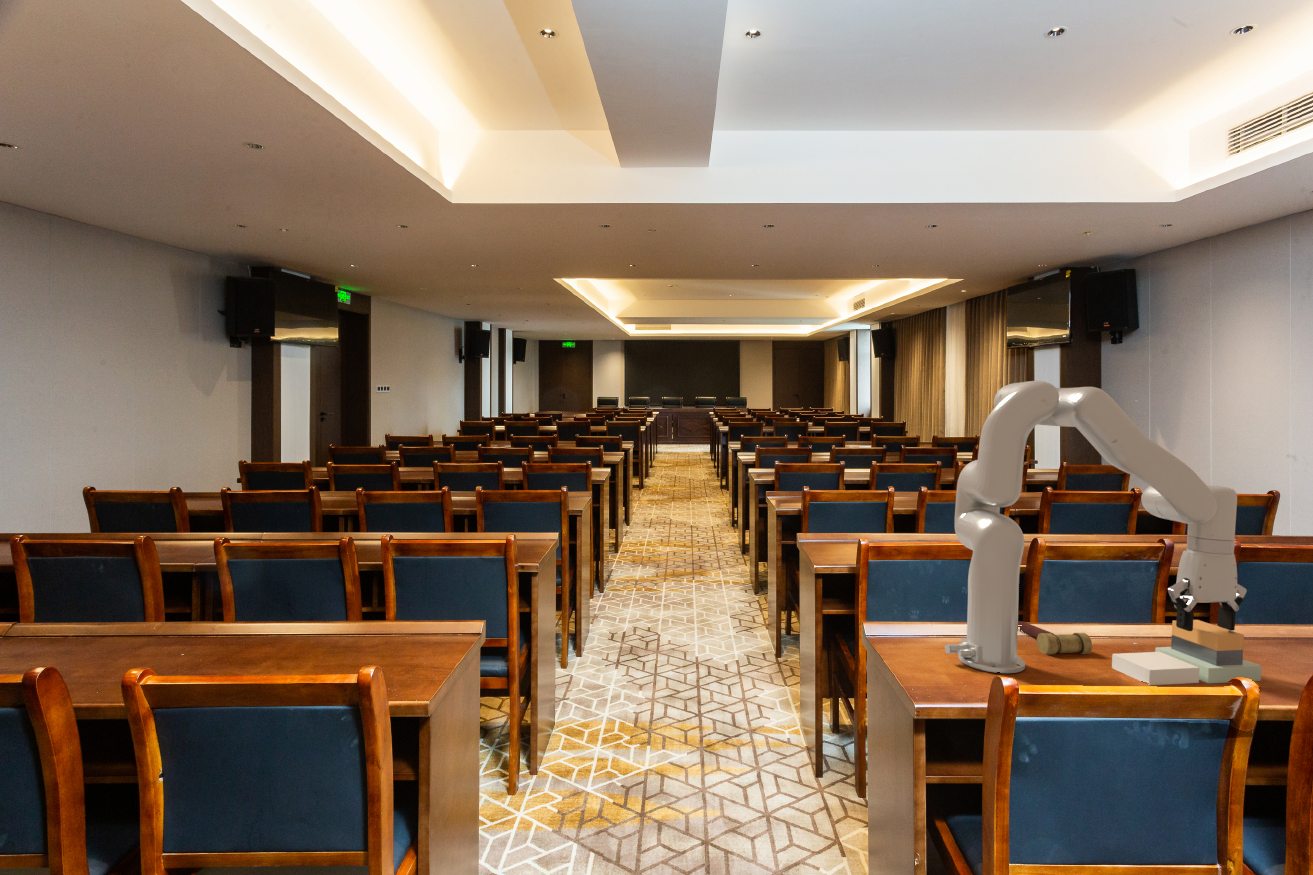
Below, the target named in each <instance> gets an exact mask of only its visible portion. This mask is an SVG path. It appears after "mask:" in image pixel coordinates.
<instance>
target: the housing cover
mask: <svg viewBox="0 0 1313 875" xmlns="http://www.w3.org/2000/svg"><path fill="white" fill-rule="evenodd" d="M1171 626H1172V627H1171V636H1172V635H1174V636H1177V637H1180V638H1183V639H1186V640H1188V641H1191V642H1194V643H1197V644H1199V645H1202V646H1205V647H1208V648H1210V649H1213V650H1216V651H1226V650H1243V651H1244V647H1245V646H1244V642H1245V641H1244V640H1245V635H1244V634H1243V633H1240V632H1236V631H1235V630H1232V631H1231V630H1228V629H1225V628H1222V627H1219V626H1218V625H1214V624H1212V623H1208V622H1205V621H1203V620H1200V619H1193V630H1192V631H1187V630H1184V629H1181V628H1178V627H1177V626H1176V620H1172V624H1171Z"/></svg>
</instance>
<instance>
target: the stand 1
mask: <svg viewBox="0 0 1313 875" xmlns="http://www.w3.org/2000/svg"><path fill="white" fill-rule="evenodd" d="M1111 658H1112V659H1111V669H1112V670H1115V671H1118V672H1120V673H1122V674H1124V675H1126V676H1127V677H1130V678H1133V679H1135V680H1136V681H1138V682H1141V681H1143V682H1147V683H1149V684H1148V686H1161V685H1181V684H1184V685H1185V684H1199V683H1200V680H1199V667H1196V666H1194V665H1191V664H1189V663H1186V662H1184V661H1181V660H1179V659H1176V658H1174V657H1171V656H1169V655H1166V654H1164V653H1161V652H1155V651H1147V652H1144V651H1143V652H1125V653H1112V656H1111ZM1143 682H1142V683H1143ZM1156 683H1158V684H1156Z"/></svg>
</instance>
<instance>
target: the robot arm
mask: <svg viewBox="0 0 1313 875" xmlns="http://www.w3.org/2000/svg"><path fill="white" fill-rule="evenodd" d="M993 407H994V408H993V409H992V411H990V413H989V414H988V416H987V418H986V420H985V421H984V424H983V426H982V429H981V433H980V439H979V446H978V452H977V459H975V460H973V461H970V462H969V463H967V464H965V466H964V467H963V468H962V470H961V471H960V474H959V476H958V479H957V483H956V493H955V497H956V498H955V508H954V532H955V535H956V539H957V540H958V541H959V542H960V543H961V544H962V545H963V546H964V547H966V548H967V549H969V550H971V551H972V555H971V559H970V564H969V568H968V578H967V614H966V615H967V617H966V618H967V619H966V620H967V622H966V625H967V626H966V637H962V638H961V642H959V643H957V644H955V643H947V644H945V645H944V651H945V653H946V654H948V655H949V654H950V655H951V654H957V655H958V656H957V657H958V660H959V661H960V662H961V663H962V664H964V665H966V666H968V667H971V668H973V669H976V670H980V671H984V672H990V673H996V674H998V673H997V672H1000V673H999V674H1016V673H1019V672H1022V671H1024V670H1025V669H1026V661H1025V660H1024V659H1023V658H1021V657H1020V656H1019V655H1018V631H1019V630H1018V622H1019V594H1020V593H1019V592H1020V591H1019V590H1020V589H1019V588H1020V587H1019V586H1020V585H1019V584H1020V571H1021V570H1020V569H1021V564H1022V560H1023V558H1022V557H1023V556H1024V555H1023V554H1024V549H1025V537H1024V533H1023V531H1022V529H1021V527H1020V526H1019V524H1018V523H1017V522H1016V521H1015V520H1013V519H1012V518H1011V517H1009V516H1008V515H1005V514H1002V513H1000V512H1001V511H1000V510H1001V509H1000V508H1006V507H1010V506H1013V505H1014V504H1015V503H1016V502H1017V501H1018V500H1019V498H1020V496H1021V493H1022V490H1023V489H1022V486H1023V475H1024V474H1023V472H1024V460H1025V458H1024V457H1025V451H1026V450H1025V449H1026V444H1027V441H1028V438H1029V435H1030V434H1031V433H1032V430H1033V429H1034V428H1035V427H1036V426H1037V425H1040V426H1051V427H1066V428H1067V427H1070V428H1076V429H1077V430H1078V431H1079V432H1080V433H1081V435H1083V437H1084V438H1085V439H1086V440H1087V441H1088V442H1089V443H1090V444H1091V446H1093V448H1094V449H1095V450H1096V451H1097V452H1098V453H1099V455H1100V456H1101V457H1102V458H1103V459H1104V461H1105V462H1106V463H1108V464H1109V465H1111V466H1113V467H1115V468H1116V469H1117V470H1120V471H1122V472H1124V473H1126V474H1129V475H1131V476H1133V477H1136V478H1137V479H1139V480H1141V481H1143V482H1144V483H1146V484H1147V485H1149V486H1148V487H1147V488H1145V490H1144V491H1143V492H1142V494H1141V498H1140V499H1141V500H1140V501H1141V505H1142V507H1143V508H1144V510H1145V511H1146V512H1147V513H1149V514H1150V515H1152V516H1155V517H1157V518H1160V519H1164V520H1169V521H1173V522H1177V523H1178V522H1179V523H1183V524H1187V533H1186V534H1187V537H1186V538H1187V539H1186V550H1183V552H1182V554H1181V557H1180V559H1179V563H1178V564H1179V565H1178V569H1177V575H1176V582H1175V583H1174V584H1173V585H1171V586H1169V587H1168V588H1167V592H1168V595H1169V597H1170V601H1171V603H1172V604H1173V606H1174V608H1175V609H1176V620H1175V621H1176V626H1177V627H1178V628H1181V629H1184V630H1187V631H1192V630H1193V620H1195V619H1194V615H1195V612H1194V611H1192V610H1193V608H1194V607H1196V604H1198V603H1212V604H1213V603H1219V607H1218V608H1217V621H1216V622H1217V625H1216V626H1218V627H1221V628H1224V629H1227V630H1231V631H1235V628H1236V615H1237V614H1236V612H1238V611H1239V609H1240V607H1239V606H1240V605H1241V604H1242V603H1243V602H1244V597H1245V595H1246V594H1247V591H1248V590H1247V588H1245V587H1244V586H1243V585H1240V584H1239V583H1238V569H1237V568H1238V567H1237V560H1236V555H1235V547H1236V542H1235V540H1236V539H1235V536H1236V522H1237V521H1236V520H1237V509H1238V508H1237V506H1238V493H1237V491H1235V489H1233V488H1231V487H1227V486H1219V485H1218V486H1217V485H1207V484H1206V483H1205V482H1204V481H1203V480H1202V478H1201V477H1200V476H1199V475H1198V474H1197V473H1196V472H1195V471H1194V470H1193V469H1192V468H1191V467H1190V466H1189V465H1187V464H1186V463H1185V462H1183V461H1182V460H1181V459H1179V458H1178V457H1176V456H1175V455H1173V454H1172V453H1170V452H1169V450H1166V449H1165V448H1164V447H1162V446H1161V445H1159V444H1158V443H1156V442H1154V441H1153V440H1152V439H1150V438H1149V437H1148V436H1147V435H1146V434H1144V433H1143V431H1142V430H1141V429H1140V428H1139V427H1138V426H1137V425H1136V423H1135V422H1134V421H1133V420H1132V419H1131V418H1130V417H1129V416H1128V414H1126V412H1125V411H1124V410H1123V409H1122V408H1121V407H1120V406H1119V404H1117V402H1116V401H1115V400H1114V399H1113V398H1112V397H1111V396H1110V395H1109V394H1108V393H1107V392H1106V391H1104V390H1103V389H1102V388H1098V387H1095V386H1080V387H1057V386H1055V385H1053V384H1052V383H1050V382H1047V381H1043V380H1031V381H1030V380H1029V381H1020V382H1013V383H1009V384H1007V385H1003V387H1001V388H1000V389H998V391H997V392H996V393H995V396H994V399H993ZM1186 602H1187V603H1186Z"/></svg>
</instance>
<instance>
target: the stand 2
mask: <svg viewBox="0 0 1313 875" xmlns="http://www.w3.org/2000/svg"><path fill="white" fill-rule="evenodd" d="M1154 652H1161V653H1164V654H1166V655H1169V656H1171V657H1174V658H1176V659H1179V660H1181V661H1184V662H1186V663H1189V664H1191V665H1194V666H1196V667H1199V681H1201V682H1203V683H1205V684H1223V683H1224V684H1225V683H1229V682H1228V681H1230V679H1232V678H1236V677H1244V678H1249V679H1252V680H1254V681H1253V682H1260V681H1262V665H1260V664H1259V663H1258V664H1257V663H1254V662H1253V661H1249V660H1246V659H1244V658H1243V664H1242V665H1224V666H1215V665H1213V664H1210V663H1207V662H1205V661H1202V660H1200V659H1197V658H1194V657H1192V656H1189V655H1187V654H1184V653H1181V652H1179V651H1176V650H1174V649H1171V646H1162V647H1161V646H1158V647H1157V646H1156V647H1155V650H1154Z"/></svg>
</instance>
